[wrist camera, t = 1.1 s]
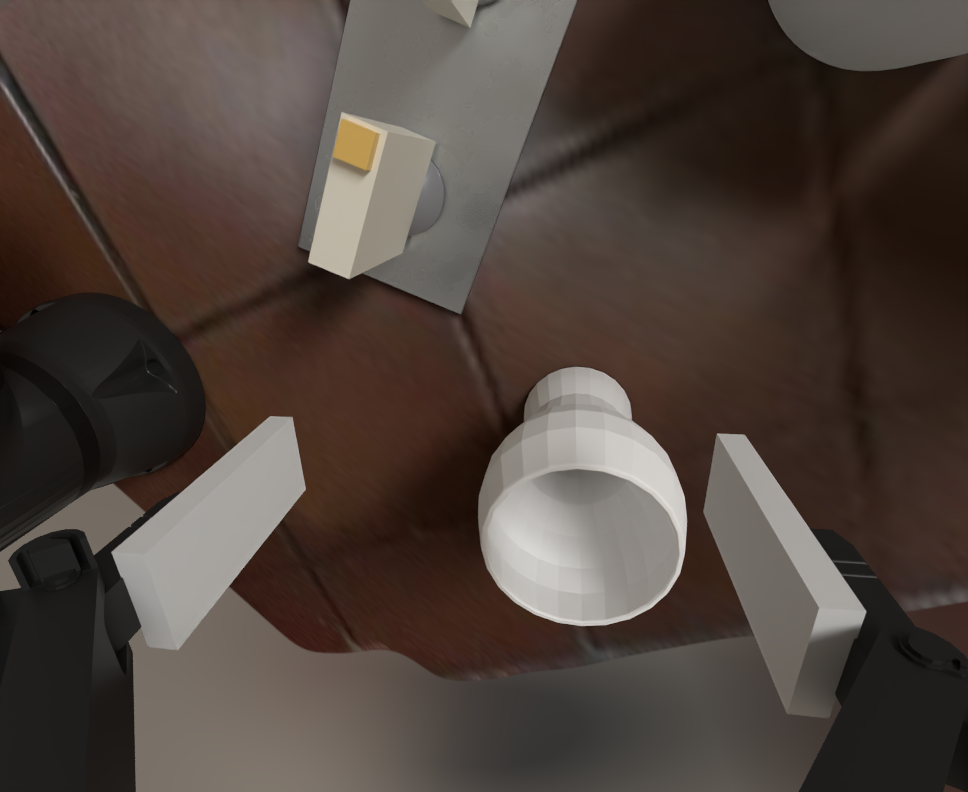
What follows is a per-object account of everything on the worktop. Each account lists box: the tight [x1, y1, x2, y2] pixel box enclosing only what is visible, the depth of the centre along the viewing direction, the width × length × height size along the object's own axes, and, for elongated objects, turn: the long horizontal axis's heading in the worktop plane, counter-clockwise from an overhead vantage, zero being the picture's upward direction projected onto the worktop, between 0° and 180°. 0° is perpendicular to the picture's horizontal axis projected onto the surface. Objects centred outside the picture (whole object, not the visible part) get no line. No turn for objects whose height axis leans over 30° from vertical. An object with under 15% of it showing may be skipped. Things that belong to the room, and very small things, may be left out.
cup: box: [478, 367, 687, 626], centre depth 32 cm, size 11×11×15 cm
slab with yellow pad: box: [308, 112, 445, 279], centre depth 29 cm, size 5×7×10 cm
